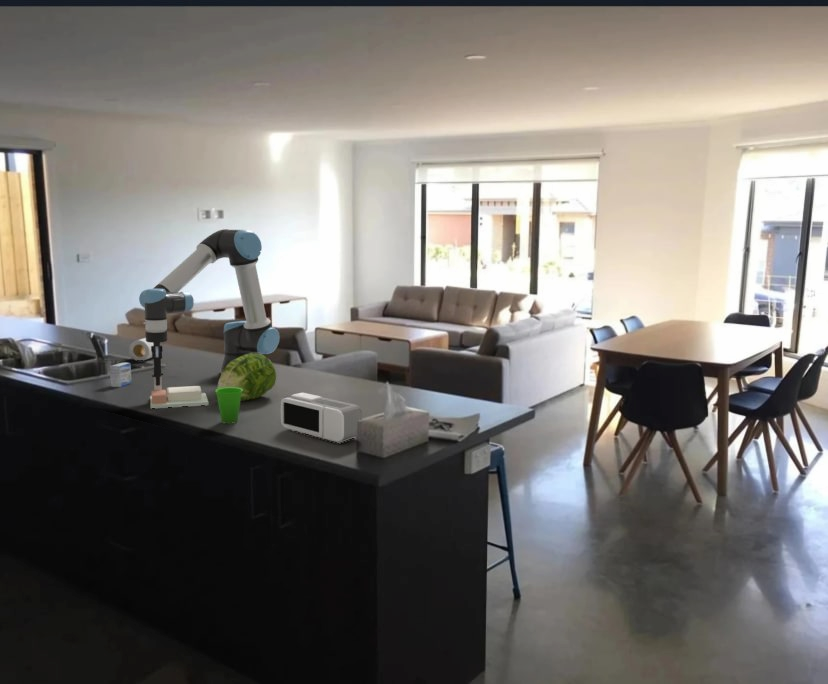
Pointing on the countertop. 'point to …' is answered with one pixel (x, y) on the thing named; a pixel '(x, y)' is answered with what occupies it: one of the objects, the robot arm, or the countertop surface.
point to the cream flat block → (184, 393)
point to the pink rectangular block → (158, 396)
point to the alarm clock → (320, 416)
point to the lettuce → (249, 375)
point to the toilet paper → (141, 349)
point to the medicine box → (120, 374)
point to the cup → (229, 403)
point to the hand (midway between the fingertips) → (158, 393)
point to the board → (181, 402)
